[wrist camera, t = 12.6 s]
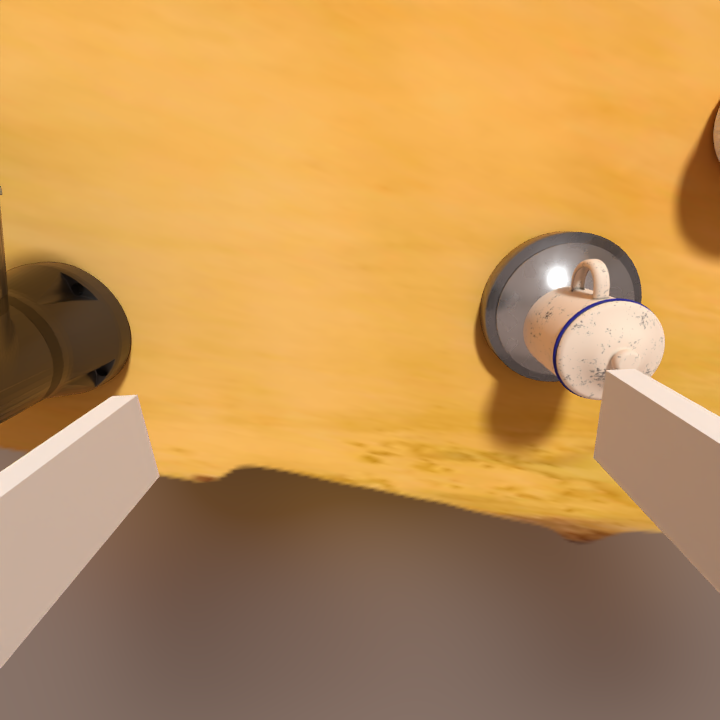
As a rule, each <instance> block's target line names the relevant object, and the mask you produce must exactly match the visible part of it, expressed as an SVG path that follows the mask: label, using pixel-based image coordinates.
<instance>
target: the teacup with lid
mask: <svg viewBox="0 0 720 720" xmlns="http://www.w3.org/2000/svg"><path fill="white" fill-rule="evenodd" d="M589 270H590V271H591V273H592V276H593V291H592V290H589V289H586V288H585V281H586V276H587V274H588V272H589ZM609 290H610V277H609V272H608V269H607V267H606V265H605V264H604V263H603V262H602V261H601V260H598V259H588V260H584V261H582V262H581V263H579V264H578V265H577V267H576V268H575V270H574V272H573V275H572V279H571V286H566V287H561V288H557V289H554V290H552V291H550V292H548V293H546V294H545V295H543V296H542V297H541V298H540V299H538V300H537V301H536V302H535V303H534V305H533V306H532V307H531V309H530V310H529V312H528V314H527V316H526V319H525V322H524V327H523V337H524V342H525V345H526V347H527V349H528V350H529V352H530V353H531V354H532V356H534V357H535V358H536V359H537V360H538V361H539V362H540V363H542V364H543V365H544V366H545V367H546V368H547V369H549V370H550V371H551V372H552V373H553V374H554V375H556V376H557V378H558V379H559V381H560V382H561V383H562V385H563V386H564V387H565V388H566V389H568V390H569V391H570V392H572V393H574V394H576V395H578V396H580V397H583V398H588V399H594V400H602V394H603V387H604V380H605V373H606V370H619V369H636V370H638V371H640V372H642V373H643V374H645V375H647V376H649V377H651V376H652V375H653V373H654V372H655V371H656V369H657V368H658V366H659V364H660V362H661V359H662V356H663V353H664V347H665V337H664V332H663V328H662V326H661V323H660V322H659V320H658V319H657V317H656V316H655V315H654V313H653V312H652V311H651V310H650V309H648V308H647V307H646V306H644V305H642V304H640V303H638V302H636V301H633V300H629V299H621V298H614V297H611V296H609Z"/></svg>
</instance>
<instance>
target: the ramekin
mask: <svg viewBox="0 0 720 720" xmlns="http://www.w3.org/2000/svg"><path fill="white" fill-rule="evenodd" d="M713 140H714V148H715V151H716V155H717V158H718V160H719V162H720V107H719V110H718V113H717V115H716V120H715V124H714V131H713Z"/></svg>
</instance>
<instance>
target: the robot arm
mask: <svg viewBox="0 0 720 720" xmlns="http://www.w3.org/2000/svg"><path fill="white" fill-rule="evenodd" d="M0 195H2V188H1V186H0ZM130 344H131V336H130V329H129V324H128V321H127V318H126V315H125V313H124V311H123V309H122V307H121V305H120V304H119V302H118V300H117V299H116V298H115V296H114V295H113V294H112V293H111V292H110V290H109V289H108V288H107V287H106V286H105V285H104V284H102V283H101V282H100V281H99V280H98V279H96V278H95V277H93V276H92V275H90V274H89V273H87V272H85V271H83V270H81V269H79V268H76V267H74V266H71V265H67V264H63V263H56V262H43V263H35V264H28V265H23V266H19V267H16V268H13V269H11V270H9V271H7V272H6V264H5V253H4V241H3V230H2V219H1V208H0V423H2V422H4V421H6V420H7V419H9V418H11V417H13V416H14V415H16V414H18V413H20V412H22V411H23V410H25V409H27V408H29V407H30V406H32V405H34V404H36V403H37V402H39V401H41V400H43V399H46V398H52V397H59V396H65V395H72V394H79V393H83V392H87V391H90V390H93V389H95V388H97V387H99V386H101V385H102V384H104V383H105V382H107V381H109V380H110V379H112V378H113V377H114V376H116V375H117V374H118V373H119V372H120V370H121V369H122V368H123V366H124V364H125V363H126V361H127V358H128V355H129V351H130ZM594 459H595V460H596V461H597V462H598V463H599V464H600V465H601V466H602V467H603V468H604V470H605V471H606V472H607V473H608V474H609V475H610V476H611V477H612V478H613V479H614V480H615V481H616V482H617V484H618V485H619V486H620V487H621V488H622V489H623V490H624V491H625V492H626V493H627V494H628V495H629V496H630V498H631V499H632V500H633V501H634V502H635V503H636V504H637V505H638V506H639V507H640V508H641V509H642V510H643V512H644V513H645V514H646V515H647V516H648V517H649V518H650V519H651V520H652V521H653V522H654V523H655V524H656V526H657V527H658V528H659V529H660V530H661V531H662V532H663V533H664V534H665V535H666V536H667V537H668V538H669V539H670V541H671V542H672V543H673V544H674V545H675V546H676V547H677V548H678V549H679V550H680V551H681V552H682V553H683V554H684V555H685V557H686V558H687V559H688V560H689V561H690V562H691V563H692V564H693V565H694V566H695V567H696V568H697V569H698V571H699V572H700V573H701V574H702V575H703V576H704V577H705V578H706V579H707V580H708V581H709V582H710V583H711V585H712V586H713V587H714V588H715V589H716V590H717V591H718V592H719V593H720V417H719V416H717V415H716V414H714V413H712V412H710V411H709V410H707V409H705V408H703V407H702V406H700V405H698V404H696V403H694V402H693V401H691V400H689V399H687V398H686V397H684V396H682V395H680V394H679V393H677V392H675V391H673V390H672V389H670V388H668V387H666V386H665V385H663V384H661V383H659V382H657V381H656V380H654V379H652V378H650V377H649V376H647V375H645V374H643V373H642V372H640V371H638V370H636V369H619V370H606V373H605V380H604V387H603V394H602V401H601V408H600V415H599V423H598V430H597V437H596V444H595V451H594ZM158 477H159V473H158V469H157V465H156V462H155V458H154V454H153V451H152V447H151V443H150V440H149V436H148V432H147V429H146V425H145V421H144V418H143V414H142V410H141V407H140V403H139V399H138V396H137V395H126V396H111V397H110V398H108V399H107V400H105V401H104V402H102V403H101V404H99V405H98V406H96V407H95V408H94V409H92V410H91V411H89V412H88V413H86V414H85V415H83V416H82V417H80V418H79V419H77V420H76V421H74V422H73V423H71V424H70V425H68V426H67V427H66V428H64V429H63V430H61V431H60V432H58V433H57V434H55V435H54V436H52V437H51V438H49V439H48V440H46V441H45V442H43V443H42V444H41V445H39V446H38V447H36V448H35V449H33V450H32V451H30V452H29V453H27V454H26V455H24V456H23V457H21V458H20V459H19V460H17V461H16V462H14V463H13V464H11V465H10V466H8V467H7V468H5V469H4V470H2V471H1V472H0V668H1V667H2V666H3V665H4V663H5V662H6V661H7V660H8V659H9V657H10V656H11V655H12V654H13V653H14V651H15V650H16V649H17V648H18V647H19V645H20V644H21V643H22V642H23V641H24V639H25V638H26V637H27V636H28V634H29V633H30V632H31V631H32V630H33V628H34V627H35V626H36V625H37V624H38V622H39V621H40V620H41V619H42V618H43V616H44V615H45V614H46V613H47V611H48V610H49V609H50V608H51V606H52V605H53V604H54V603H55V602H56V601H57V599H58V598H59V597H60V596H61V594H62V593H63V592H64V591H65V590H66V588H67V587H68V586H69V585H70V584H71V582H72V581H73V580H74V579H75V578H76V576H77V575H78V574H79V573H80V572H81V570H82V569H83V568H84V567H85V565H86V564H87V563H88V562H89V561H90V559H91V558H92V557H93V556H94V555H95V553H96V552H97V551H98V550H99V549H100V547H101V546H102V545H103V544H104V543H105V541H106V540H107V539H108V538H109V537H110V535H111V534H112V533H113V532H114V531H115V529H116V528H117V527H118V526H119V524H120V523H121V522H122V521H123V520H124V518H125V517H126V516H127V515H128V514H129V512H130V511H131V510H132V509H133V508H134V506H135V505H136V504H137V503H138V501H139V500H140V499H141V498H142V497H143V495H144V494H145V493H146V492H147V490H148V489H149V488H150V487H151V486H152V484H153V483H154V482H155V481H156V480H157V479H158Z"/></svg>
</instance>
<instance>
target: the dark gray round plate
mask: <svg viewBox="0 0 720 720" xmlns="http://www.w3.org/2000/svg"><path fill="white" fill-rule="evenodd" d="M588 259H598V260H601V261H602V262H603V263H604V264H605V265H606V267H607V269H608V272H609V277H610V290H609V296H611V297H614V298H621V299H629V300H633V301H636V302H638V303H640V304H641V297H642V296H641V284H640V279H639V276H638V273H637V270H636V268H635V266H634V264H633V262H632V260H631V259H630V258H629V257H628V255H627V254H626V253H625V252H624V251H623V250H622V249H621V248H620V247H619V246H617V245H616V244H614V243H613V242H611V241H610V240H608V239H605V238H603V237H601V236H598V235H594V234H590V233H582V232H553V233H547V234H544V235H540V236H537V237H535V238H532V239H530V240H528V241H526V242H524V243H522V244H521V245H519V246H518V247H516V248H515V249H513V250H512V251H511V252H510V253H509V254H508V255H506V256H505V257H504V258H503V259H502V261H501V262H500V263H499V264H498V265H497V266H496V268H495V269H494V271H493V272H492V274H491V275H490V277H489V279H488V281H487V283H486V286H485V289H484V291H483V295H482V299H481V306H480V321H481V327H482V331H483V334H484V337H485V339H486V341H487V343H488V345H489V346H490V347H491V349H492V350H493V352H494V353H495V354H496V355H497V356H498V357H499V358H500V359H501V360H502V361H503V362H504V364H505V365H507V366H508V367H509V368H510V369H512V370H513V371H515V372H517V373H518V374H520V375H522V376H525V377H527V378H531V379H534V380H539V381H559V379H558V378H557V376H556V375H554V374H553V373H552V372H551V371H550V370H549V369H547V368H546V367H545V366H544V365H543V364H542V363H540V362H539V361H538V360H537V359H536V358H535V357H534V356H532V354H531V353H530V352H529V350H528V349H527V347H526V345H525V342H524V337H523V327H524V322H525V319H526V316H527V314H528V312H529V310H530V309H531V307H532V306H533V305H534V303H535V302H536V301H537V300H538V299H540V298H541V297H542V296H543V295H545V294H546V293H548V292H550V291H552V290H554V289H557V288H561V287H566V286H571V279H572V275H573V272H574V270H575V268H576V267H577V265H578V264H579V263H581V262H582V261H584V260H588ZM585 288H586V289H589V290H592V291H593V276H592V273H591V271H590V270H589V272H588V274H587V276H586V281H585Z"/></svg>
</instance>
